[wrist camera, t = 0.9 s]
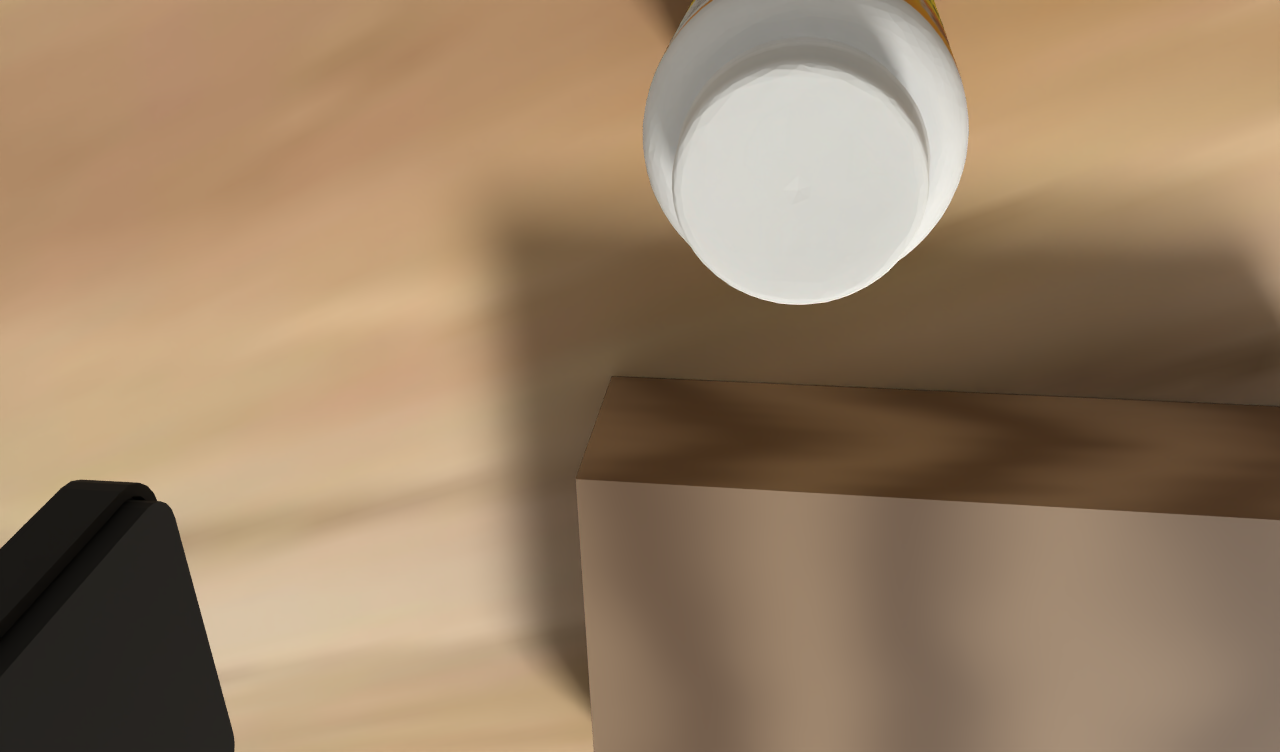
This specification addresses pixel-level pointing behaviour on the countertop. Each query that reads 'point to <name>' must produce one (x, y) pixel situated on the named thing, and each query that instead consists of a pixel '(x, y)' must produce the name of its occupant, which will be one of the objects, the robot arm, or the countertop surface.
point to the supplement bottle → (805, 140)
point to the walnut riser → (928, 571)
